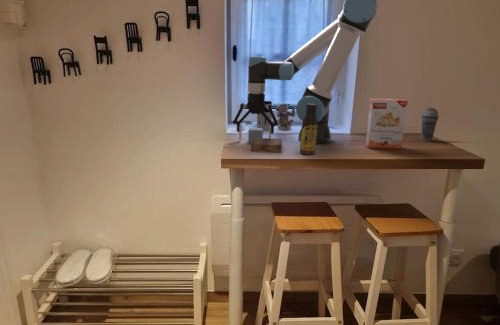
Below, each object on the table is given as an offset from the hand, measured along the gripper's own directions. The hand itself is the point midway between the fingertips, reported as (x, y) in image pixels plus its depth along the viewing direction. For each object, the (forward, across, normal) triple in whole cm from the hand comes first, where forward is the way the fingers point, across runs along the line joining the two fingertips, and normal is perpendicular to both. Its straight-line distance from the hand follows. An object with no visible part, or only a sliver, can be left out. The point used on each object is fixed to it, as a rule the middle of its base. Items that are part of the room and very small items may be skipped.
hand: (255, 139), depth 168 cm
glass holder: (+1, -1, -27) cm, 27 cm away
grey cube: (+1, 0, 0) cm, 1 cm away
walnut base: (+1, -6, +12) cm, 14 cm away
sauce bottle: (+1, -23, +18) cm, 30 cm away
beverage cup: (0, -80, -16) cm, 82 cm away
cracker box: (0, -56, +2) cm, 56 cm away
